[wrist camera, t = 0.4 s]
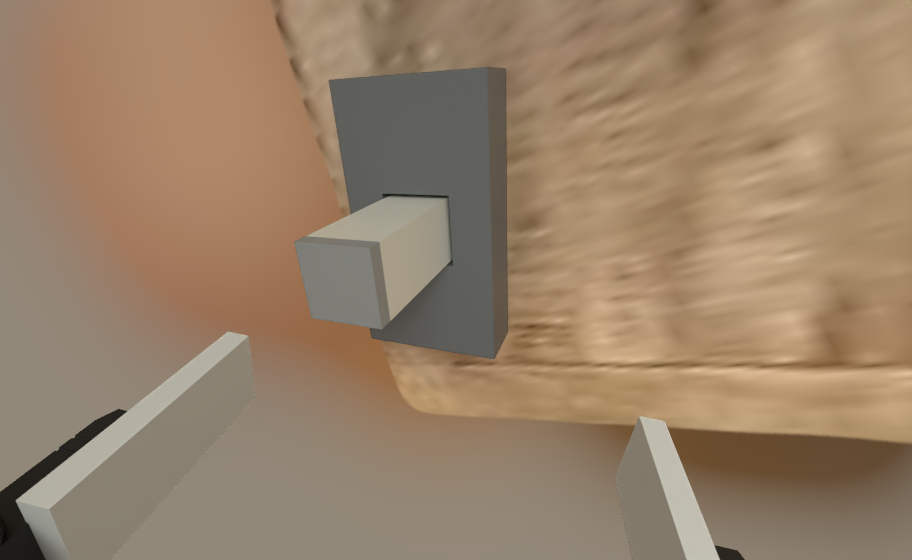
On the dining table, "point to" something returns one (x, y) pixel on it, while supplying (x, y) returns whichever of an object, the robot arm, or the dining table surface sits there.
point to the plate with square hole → (437, 191)
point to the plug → (375, 259)
